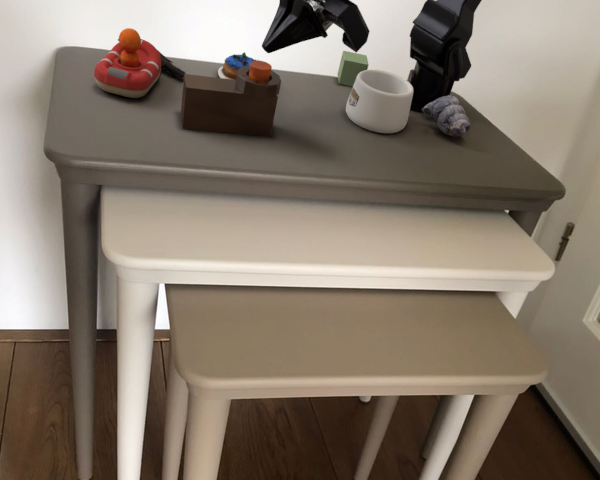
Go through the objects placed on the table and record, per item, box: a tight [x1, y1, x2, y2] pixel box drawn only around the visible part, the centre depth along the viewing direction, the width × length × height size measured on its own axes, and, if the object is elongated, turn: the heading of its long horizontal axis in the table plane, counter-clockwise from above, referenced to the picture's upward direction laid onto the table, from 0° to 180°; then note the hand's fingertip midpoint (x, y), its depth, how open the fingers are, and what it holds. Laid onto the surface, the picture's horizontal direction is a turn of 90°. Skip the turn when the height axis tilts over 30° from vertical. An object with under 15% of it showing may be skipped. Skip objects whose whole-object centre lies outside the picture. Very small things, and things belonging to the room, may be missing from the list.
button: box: [249, 59, 273, 82], centre depth 87 cm, size 3×3×2 cm
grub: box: [421, 94, 472, 137], centre depth 103 cm, size 5×5×10 cm
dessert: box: [217, 52, 260, 80], centre depth 103 cm, size 8×7×6 cm
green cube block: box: [337, 50, 369, 88], centre depth 110 cm, size 4×4×4 cm
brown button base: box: [180, 66, 282, 138], centre depth 89 cm, size 12×6×8 cm, turn 101°
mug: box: [345, 69, 413, 134], centre depth 101 cm, size 12×10×6 cm
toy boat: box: [93, 27, 162, 99], centre depth 92 cm, size 8×12×8 cm, turn 173°
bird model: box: [117, 38, 187, 79], centre depth 100 cm, size 3×14×3 cm, turn 61°
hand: (264, 49), depth 85 cm, fingers closed
